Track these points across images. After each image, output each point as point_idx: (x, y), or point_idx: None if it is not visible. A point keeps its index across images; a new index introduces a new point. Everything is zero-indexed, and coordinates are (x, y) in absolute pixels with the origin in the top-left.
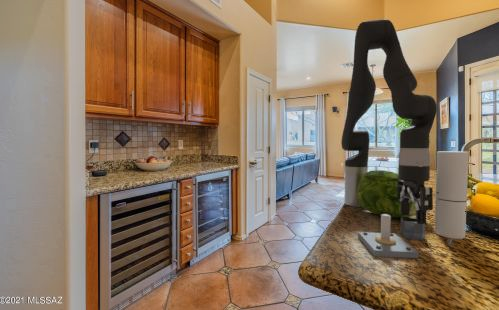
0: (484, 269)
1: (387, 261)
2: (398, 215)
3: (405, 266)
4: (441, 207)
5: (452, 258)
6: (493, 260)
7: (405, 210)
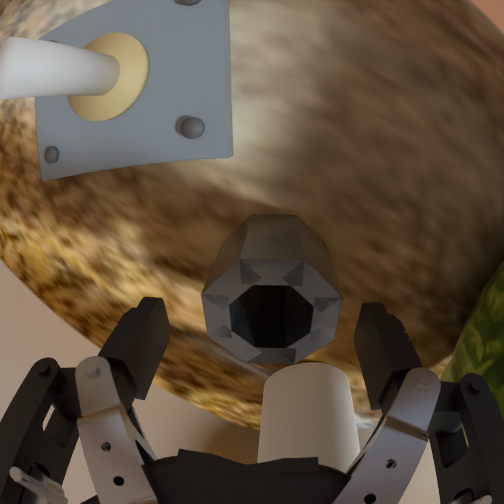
0: (65, 311)
1: None
2: (472, 311)
3: (17, 121)
4: None
5: (91, 282)
6: None
7: (367, 343)
